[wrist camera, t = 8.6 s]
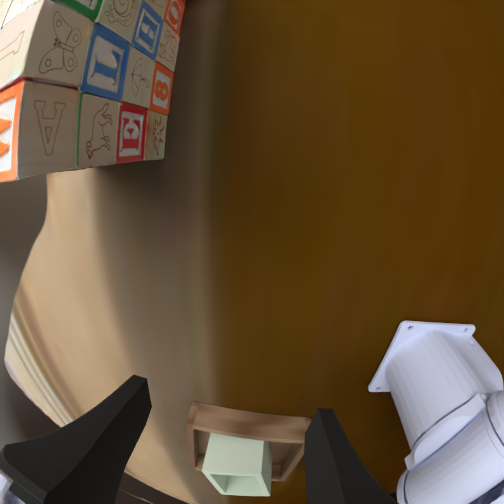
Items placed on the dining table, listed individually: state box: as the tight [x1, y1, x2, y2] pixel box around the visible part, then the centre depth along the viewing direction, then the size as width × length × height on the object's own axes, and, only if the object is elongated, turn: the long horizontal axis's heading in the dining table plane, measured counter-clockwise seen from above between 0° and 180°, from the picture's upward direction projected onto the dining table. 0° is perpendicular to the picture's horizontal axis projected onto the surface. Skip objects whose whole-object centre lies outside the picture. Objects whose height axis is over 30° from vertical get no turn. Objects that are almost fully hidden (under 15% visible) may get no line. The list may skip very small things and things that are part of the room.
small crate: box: [202, 433, 272, 496], centre depth 22 cm, size 6×8×6 cm
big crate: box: [186, 401, 311, 481], centre depth 24 cm, size 12×12×3 cm
